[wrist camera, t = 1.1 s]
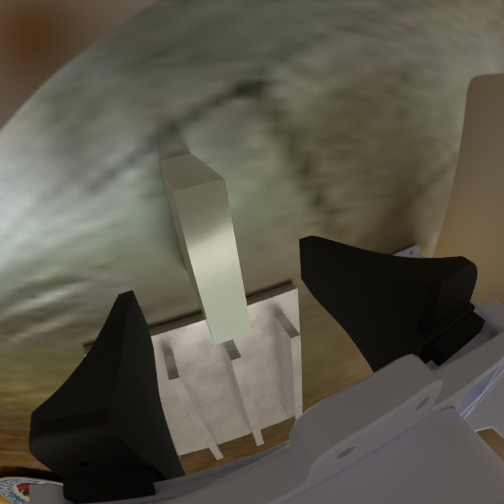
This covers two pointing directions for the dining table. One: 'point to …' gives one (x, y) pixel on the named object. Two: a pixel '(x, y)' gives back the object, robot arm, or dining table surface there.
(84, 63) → the dining table surface
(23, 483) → the ceramic plate
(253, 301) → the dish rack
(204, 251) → the grey rectangular block
